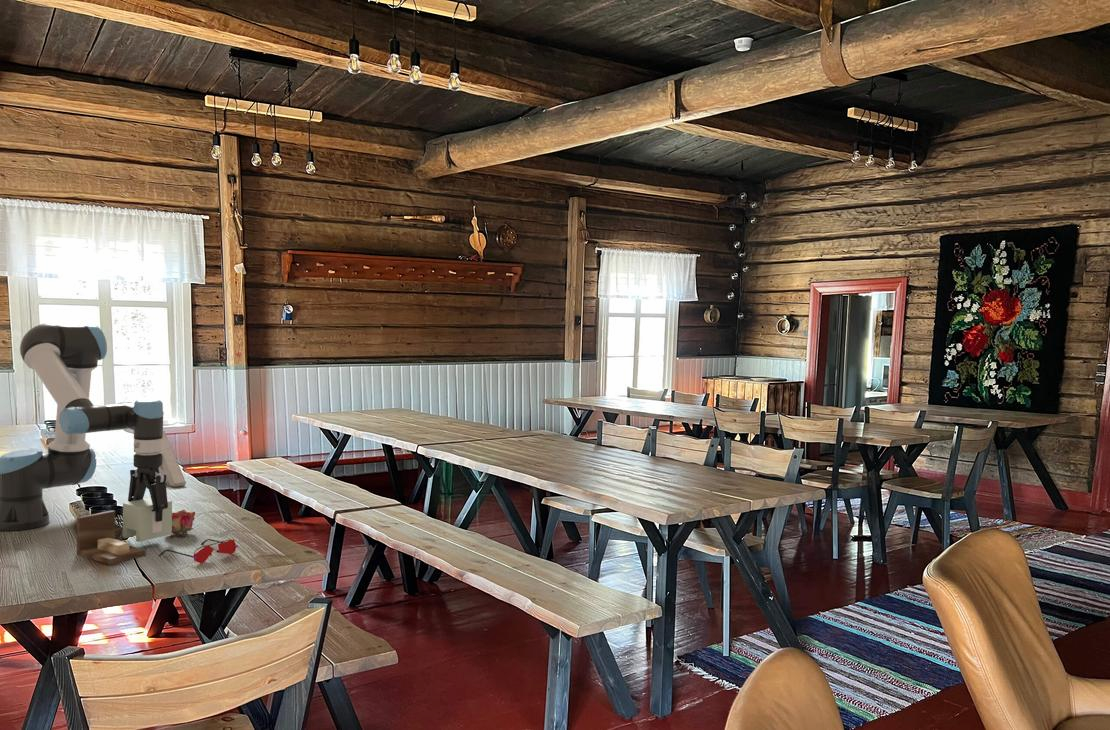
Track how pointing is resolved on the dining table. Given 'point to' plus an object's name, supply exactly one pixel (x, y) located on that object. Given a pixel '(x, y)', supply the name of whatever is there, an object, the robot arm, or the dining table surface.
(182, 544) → the dining table surface
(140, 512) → the cabinet block
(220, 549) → the glasses
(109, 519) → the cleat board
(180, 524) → the flower
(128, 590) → the dining table surface
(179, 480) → the wooden letter a
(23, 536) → the dining table surface
